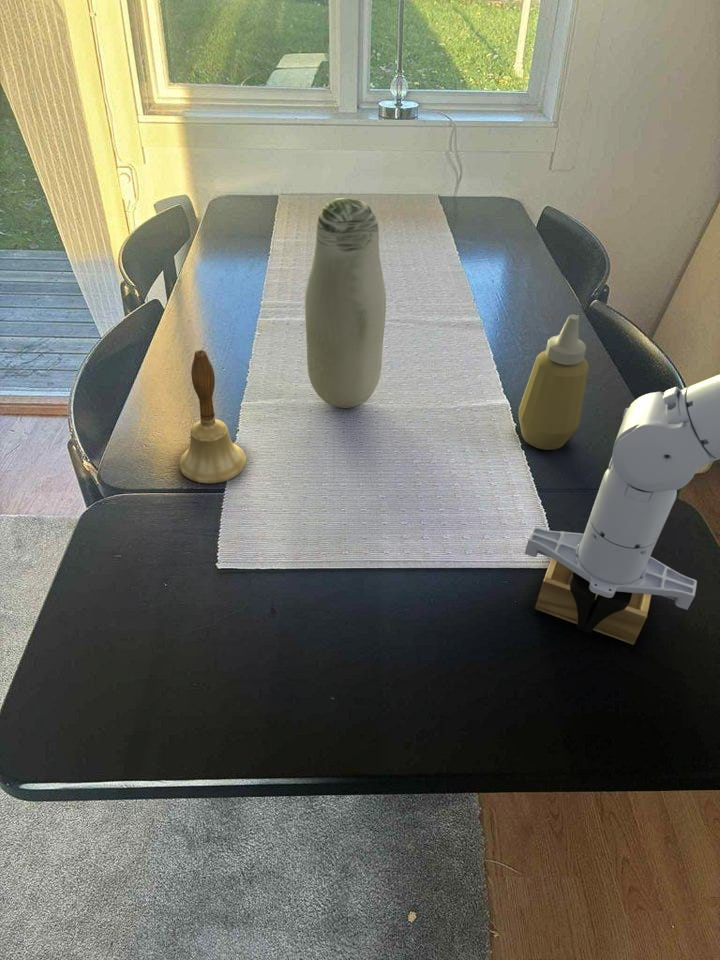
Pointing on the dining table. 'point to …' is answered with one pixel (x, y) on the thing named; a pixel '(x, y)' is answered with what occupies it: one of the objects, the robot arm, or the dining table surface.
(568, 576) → the cutlery caddy
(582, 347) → the squeeze bottle
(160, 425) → the dining table surface
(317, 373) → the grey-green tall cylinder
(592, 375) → the dining table surface
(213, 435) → the hand bell
